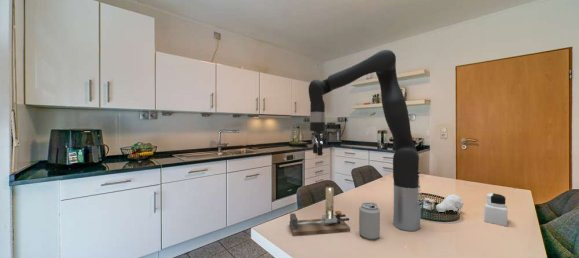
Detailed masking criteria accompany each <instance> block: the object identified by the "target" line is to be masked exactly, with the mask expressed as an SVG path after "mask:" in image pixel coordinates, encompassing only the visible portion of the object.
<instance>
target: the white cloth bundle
mask: <svg viewBox="0 0 579 258" xmlns="http://www.w3.org/2000/svg"><path fill="white" fill-rule="evenodd" d="M463 206H464V202H463V199H462V198H461V197H460V196H458V194H452V193H451V194H449V195H447V196H446V197H444V199H443V200H442V201H441V203H438V204H436V206H435V209H436V211H437V212H438V213H439V212H446V211H449V210H453V212H455V211H457V210H458V209H459V214H460V213H461V210H462V209H463Z"/></svg>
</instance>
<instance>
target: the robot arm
mask: <svg viewBox="0 0 579 258" xmlns="http://www.w3.org/2000/svg"><path fill="white" fill-rule="evenodd" d="M396 62H397V56H396V54H395V53H394V52H393V51H392V50H389V49H382V50H380V51H378V52H376V53H374V54H373V55H371V56H369V57H367V58H366V59H364V60H362V61H360V62H358V63H356V64H354V65H352V66H349V67H347V68H345V69H343V70H340V71H338V72H335V73H333V74H330V75H329V76H328V77H327V78H326V79H323V80H319V79H313V80H311V81H310V83H309V85H308V97H309V101H310V108H309V109H310V110H309V111H310V114H309V131H310V132H312V133H311V145H312V153H313V154H317V156H323V148H324V147H325V134H324V133H322V132H325V131H326V114H325V111H326V110H325V108H326V105H325V101H324V97H323V96H324V95H326V94H328V93H330V92H332V91H334V90H336V89H340V88H342V87H345V86H348V85H349V84H351V83H354V82H356V80H358V79H360V78H362V77H364V76H367V75H369V74H373V73H375V74H376V76H377V79H378V83H379V86H380V96H381V106H382V110H383V115H384V119H385V121H386V124H387V126H388V129H389V131H390V133H391V135H392V139H393V144H394V154H393V156H392V179H393V221H392V222H393V224H392V225H393V226H394V227H396V229H400V230H403V231H406V232H413V231H414V232H415V231H418V229H421V216H422V215H421V214H422V213H421V212H422V210H421V209H422V208H421V204H420V203H419V188H420V187H419V184H420V183H419V181H420V180H419V165H420V164H419V161H420V156H419V153H418V151H417V148H416V146H415V142H414V139H413V136H412V131H411V122H410V116H409V111H408V106H407V103H406V100H405V96H404V94H403V91H402V88H401V87H400V84H399V81H398V76H397V70H396V69H397V65H396V64H397V63H396Z"/></svg>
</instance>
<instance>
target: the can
mask: <svg viewBox="0 0 579 258" xmlns="http://www.w3.org/2000/svg"><path fill="white" fill-rule="evenodd" d="M380 211H381V209H380V208H379V205H378V204H376V203H373V202H367V201H366V202H362V203H361V204H360V206H359V210H358V213H359V214H358V217H359V219H358V220H359V222H358V223H359V224H358V232H359V234H360V235H361V237H362V238H364V239H367V240H371V241H372V240H377V239H378V238H379V237H380V233H381V231H380V230H381V228H380V227H381V226H380V225H381V216H380V215H381V212H380Z"/></svg>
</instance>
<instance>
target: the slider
mask: <svg viewBox="0 0 579 258" xmlns="http://www.w3.org/2000/svg"><path fill="white" fill-rule="evenodd" d="M334 191H335V189H334V187H332V186H326V187H325V214H321V216H322V217H321V219H323V221H324V222H325V223H336V222H337V221H344V222H349V221H350V217H347V215H346V214H343V213H342V214H341V215H340V218H342V219H337V218H336V214H334V213H335V211H334V206H335V204H334V197H335V196H334Z"/></svg>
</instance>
